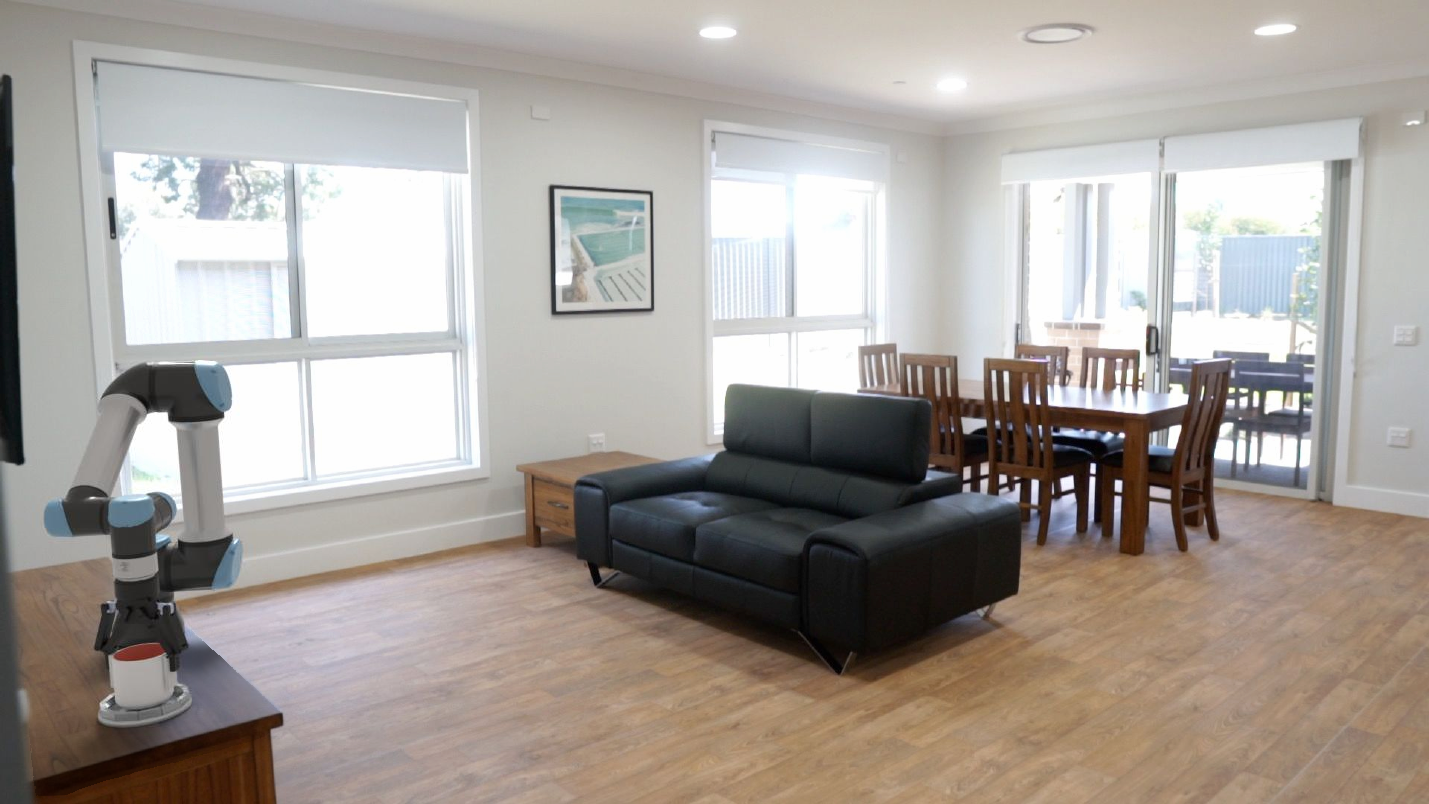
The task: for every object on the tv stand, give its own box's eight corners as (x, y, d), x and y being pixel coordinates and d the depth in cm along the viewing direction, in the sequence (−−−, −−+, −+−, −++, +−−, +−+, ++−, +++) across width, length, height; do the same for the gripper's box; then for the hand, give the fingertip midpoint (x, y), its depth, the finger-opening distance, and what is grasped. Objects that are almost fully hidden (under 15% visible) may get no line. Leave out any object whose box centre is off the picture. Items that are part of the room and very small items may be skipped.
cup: (120, 695, 201) (117, 646, 200) (177, 687, 205) (174, 640, 203) (110, 715, 192) (106, 664, 191) (170, 707, 195) (166, 658, 194)
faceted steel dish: (123, 694, 206) (122, 682, 205) (205, 691, 207) (204, 679, 207) (81, 729, 190) (80, 716, 190) (170, 726, 191) (169, 713, 191)
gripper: (65, 580, 192) (75, 691, 195) (181, 583, 190) (188, 696, 193) (93, 568, 200) (101, 676, 203) (204, 571, 198) (211, 680, 201)
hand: (144, 686), depth 198 cm, fingers open, 10 cm apart
